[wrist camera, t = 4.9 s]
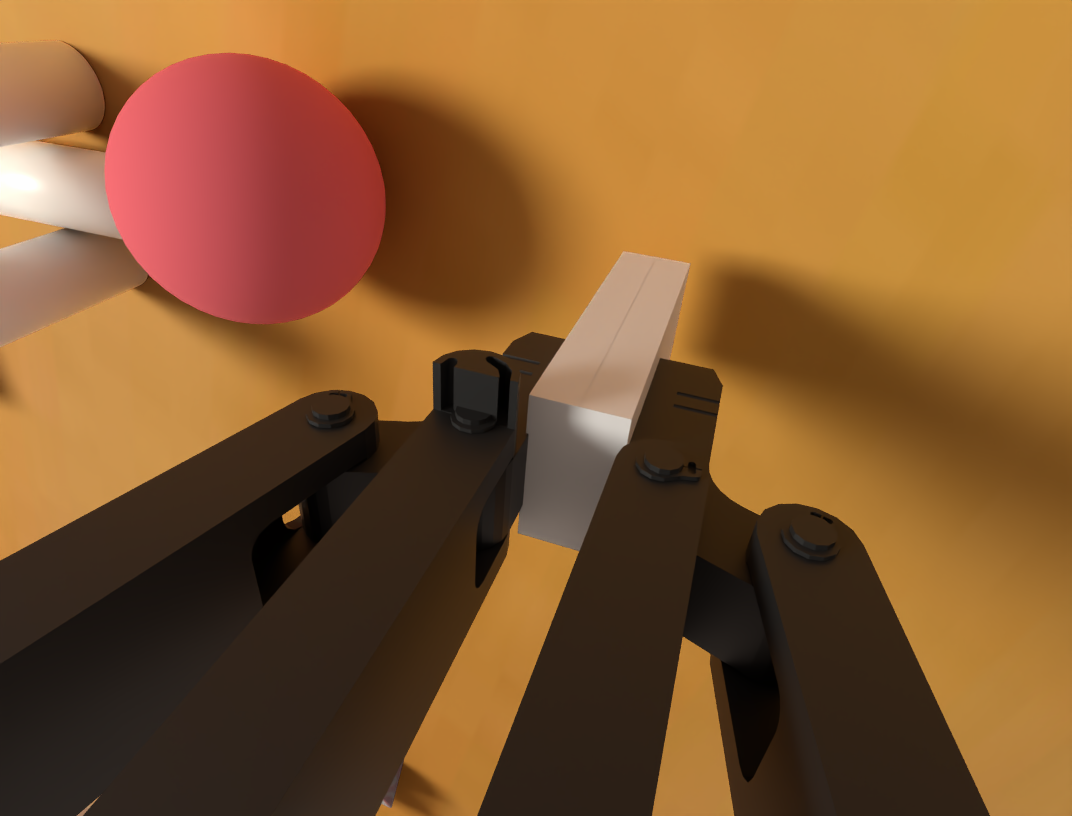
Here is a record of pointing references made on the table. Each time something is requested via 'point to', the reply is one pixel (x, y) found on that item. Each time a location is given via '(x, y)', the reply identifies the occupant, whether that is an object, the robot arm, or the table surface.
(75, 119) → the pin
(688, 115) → the table surface
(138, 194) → the ball
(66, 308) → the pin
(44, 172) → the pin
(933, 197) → the table surface
